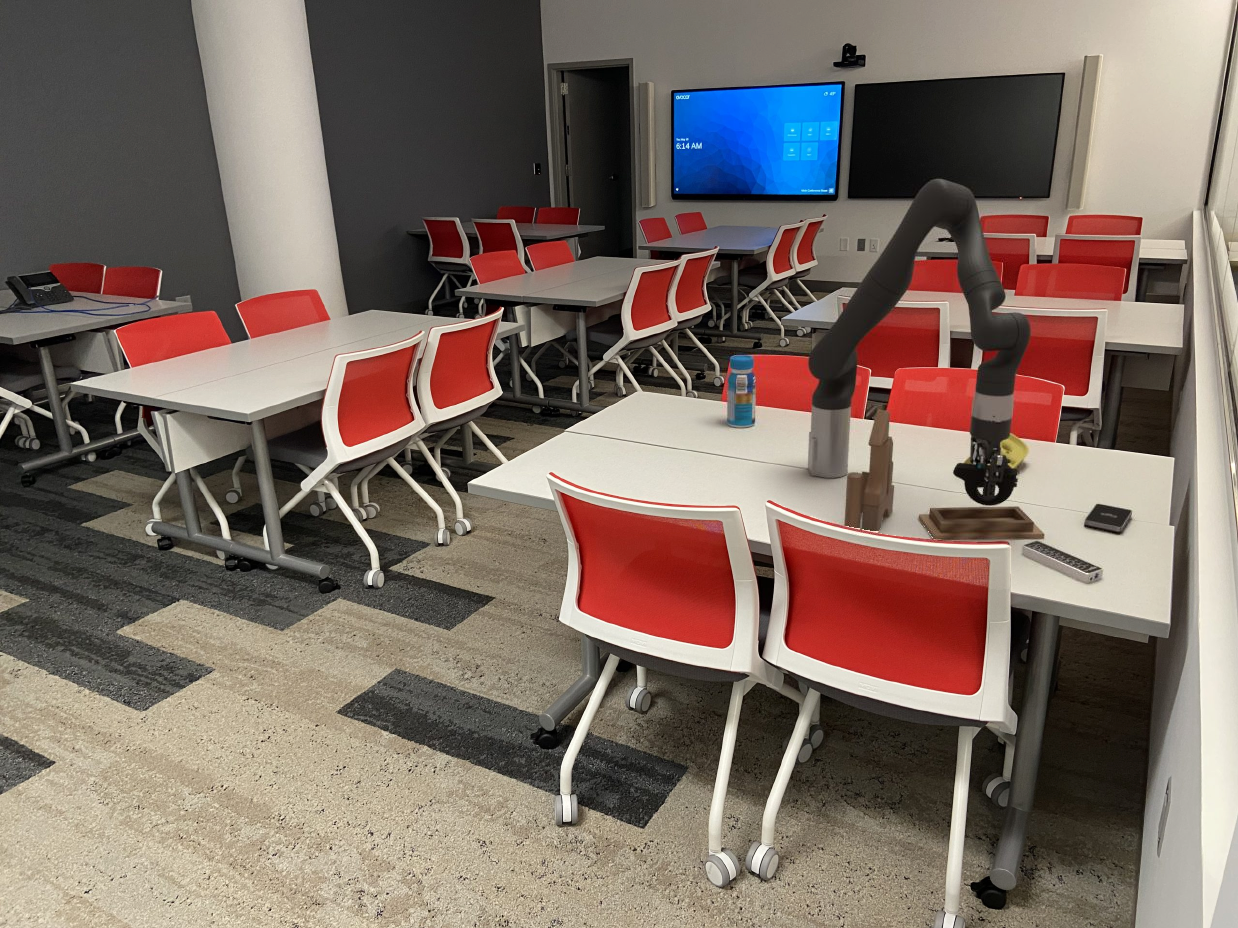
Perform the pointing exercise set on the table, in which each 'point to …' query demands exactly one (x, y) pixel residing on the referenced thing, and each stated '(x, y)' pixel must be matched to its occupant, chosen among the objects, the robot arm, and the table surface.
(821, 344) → the robot arm
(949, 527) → the cradle
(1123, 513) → the external hard drive
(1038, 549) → the multiport hub
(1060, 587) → the table surface
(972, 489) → the controller
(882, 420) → the wooden toy
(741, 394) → the beverage bottle
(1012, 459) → the plastic component
